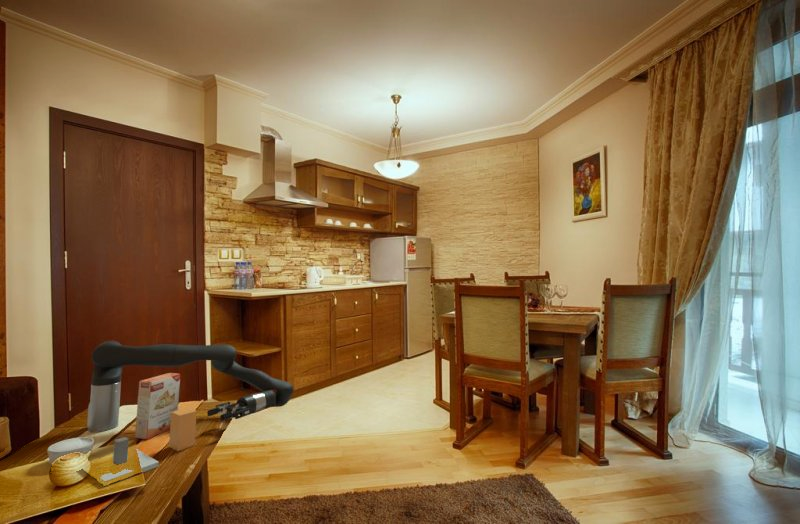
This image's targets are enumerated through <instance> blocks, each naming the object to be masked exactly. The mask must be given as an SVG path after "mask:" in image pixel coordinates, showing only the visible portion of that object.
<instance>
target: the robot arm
mask: <svg viewBox="0 0 800 524" xmlns="http://www.w3.org/2000/svg"><path fill="white" fill-rule="evenodd" d="M90 357H91V361H92V362H93V372H92V376H91V384H90V398H89V400H90V402H89V403H88V407H87V408H88V409H87V421H86V422H87V424H86V429H87V430H88V432H105V431H107V430H111V429H115V428H116V427H118V426H119V421H120V420H119V417H120V403H121V388H122V387H121V386H122V374H123V366H143V367H144V366H145V367H157V368H160V367H161V368H162V367H163V368H178V367H182V366H185V365H188V364H191V363H194V362H199V361H211V367H212V368H213V369H214V370H215V371H218V372H220V373H223V374H225V375H228V376H231V377H233V378H235V379H238V380H240V381H242V382H245V383H247V384H249V385H251V386H253V387H254V388H256V389H258V390H259V391H261V392H257V393H256V392H255V393H252V394H248V395H244V396H241V397H238V399H237V400H236V402H232V403H231V401H228V402H222V403H220V404H216V405H215V408H211V409H208V410H207V417H212V416H215V415H218V414H220V415H219V417H220V419H219V420H220V421H221V422H223V421H226V420H229V419H235V420H238V419H241V418H244V417H246V416H249V415H252V414H256V413H258V412H261V411H263V410H264V409H267V408H279V407H280V408H281V407H284V406H285V405H287V404H288V402H289V401H290V399H291V398H292V395H294V392H295V389H294V386H293V384H291V383H290V382H288V381H286V380H282V379H279V378H275V377H272V376H270V375H268V373H266V372H263V371H262V370H259V369H253V368H248V367H244V366H242V365H240V364H239V363H237V362H236V361H235V359H236V357H237V349H236V348H235V347H234V346H233V345H230V344H207V345H206V344H205V345H198V344H197V345H195V344H193V345H192V344H191V345H190V344H188V345H187V344H171V343H164V344H163V343H158V344H150V345H143V346H131V345H123V344H121V343H120V342H119V341H116V340H107V341H106V340H105V341H103V342H102V343H100V344H99V345H98V346H96V347H95V349H94V350H93V351H92V353H91V356H90ZM274 390H275V391H274Z"/></svg>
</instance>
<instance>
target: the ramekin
mask: <svg viewBox="0 0 800 524" xmlns="http://www.w3.org/2000/svg"><path fill="white" fill-rule="evenodd" d="M94 444H95V439H94V438H92V437H86V436H84V437H83V436H82V437H81V436H80V437H73V438H67V439H64V440H61V441H58V442H56V443H52V444H51V445H50V446H49V447H48V448H47V451H46V452H47V455H48V460H49V464H50V465H51V464H52V463H53V462H54V461H55V460H56V459H57V458H59V457H61V456H64V455H67V454H70V453H74V452H80V453H83V454H87V453H88V452H89V451H91V452H92V449H93V446H94Z"/></svg>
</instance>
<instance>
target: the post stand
mask: <svg viewBox="0 0 800 524" xmlns="http://www.w3.org/2000/svg"><path fill="white" fill-rule="evenodd" d="M129 442H130V441H129V438H127V437H126V436H123V437H120V438H116V439H114V440H113V463H114V464H116V465H119V464H122V463H126V462H127V459H128V448H129ZM135 449H136V450H137V453H138V457H139V461H140V466H141V469H142V471H143V473H145V472H149V471H151V470H154V469H157V468H159V467H160V465H159V464H160V463H159V461H158V460H157V459H155V458H153V457H151V456H149V455H148V454H146V453H145V452H143V451H140V450H139V449H137V448H135ZM133 471H134V470H133ZM133 471H132V470H128V469H127V470H126V469H124V470H122V471H121V472H118V473H116V474H112V473H109V474H104V475H102V477H100V478H101V479H102V480H103V481H104V482H106V481H109V480H112V479H114V478H117V477H119V476H122V475H125V474H128V473H131V472H133Z"/></svg>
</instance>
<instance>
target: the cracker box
mask: <svg viewBox="0 0 800 524" xmlns="http://www.w3.org/2000/svg"><path fill="white" fill-rule="evenodd" d="M180 384H181V374H180V373H175V372H166V373H163V374H160V375H157V376H153V377H150V378H146V379H142V380H140V381H139V382H138V394H137V406H136V407H137V409H136V420H135V422H136V423H135V431H134V432H135V433H134V434H135V435H134V438H135V439H141V440H149V439H151V438H154V437H156V436H158V435H161V434H162V433H165V432H166V431H170V425H171V412H173V411H177V410H179V399H180Z"/></svg>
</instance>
